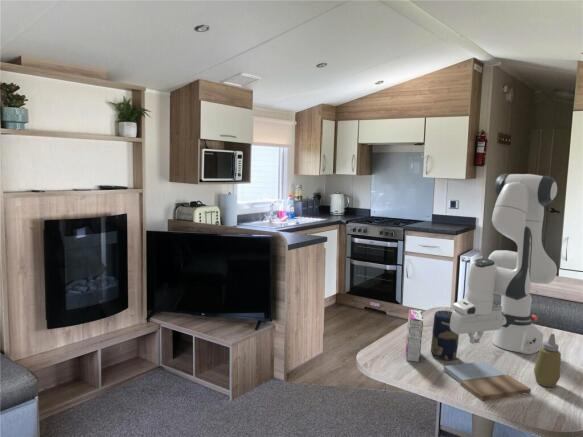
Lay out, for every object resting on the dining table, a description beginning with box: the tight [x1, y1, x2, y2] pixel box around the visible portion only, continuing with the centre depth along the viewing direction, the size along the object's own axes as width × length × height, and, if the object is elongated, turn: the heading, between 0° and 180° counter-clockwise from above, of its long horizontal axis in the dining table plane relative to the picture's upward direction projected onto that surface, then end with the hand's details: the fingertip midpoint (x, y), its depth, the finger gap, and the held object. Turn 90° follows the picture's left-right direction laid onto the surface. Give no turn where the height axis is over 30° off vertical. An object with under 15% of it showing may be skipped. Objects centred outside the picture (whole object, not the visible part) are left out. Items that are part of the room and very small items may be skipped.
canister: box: [430, 310, 460, 361], centre depth 180 cm, size 10×10×18 cm
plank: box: [443, 360, 506, 384], centre depth 167 cm, size 18×10×2 cm, turn 110°
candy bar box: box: [405, 309, 424, 363], centre depth 179 cm, size 11×5×16 cm, turn 168°
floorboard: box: [460, 374, 532, 401], centre depth 157 cm, size 20×10×2 cm, turn 110°
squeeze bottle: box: [533, 333, 562, 388], centre depth 162 cm, size 8×8×18 cm
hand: (474, 342), depth 167 cm, fingers closed
